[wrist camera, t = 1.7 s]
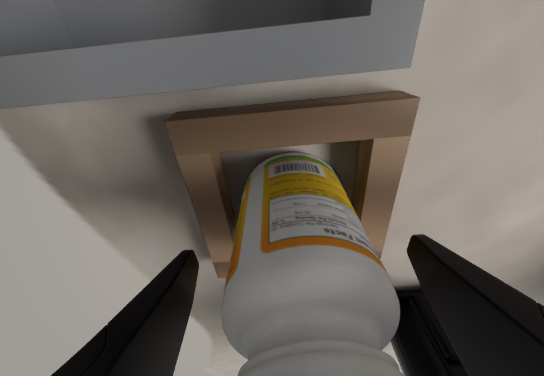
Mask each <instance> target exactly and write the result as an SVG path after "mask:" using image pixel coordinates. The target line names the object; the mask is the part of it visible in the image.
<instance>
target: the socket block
mask: <svg viewBox="0 0 544 376" xmlns="http://www.w3.org/2000/svg"><path fill="white" fill-rule="evenodd" d="M419 101H420V97H417V96H414V95H411V94H408V93H406V92H403V91H394V92H384V93H374V94H363V95H353V96H342V97H332V98H321V99H311V100H300V101H290V102H280V103H269V104H259V105H248V106H238V107H227V108H217V109H207V110H196V111H186V112H177V113H175V114H174V115H173V116H171V117H170V118H168V119H167V120H166V121H164V124H165V127H166V130H167V133H168V135H169V138H170V141H171V144H172V147H173V150H174V153H175V156H176V158H177V161H178V164H179V167H180V170H181V173H182V176H183V178H184V181H185V184H186V187H187V190H188V193H189V196H190V199H191V201H192V204H193V207H194V210H195V213H196V216H197V219H198V221H199V224H200V227H201V230H202V233H203V236H204V239H205V242H206V244H207V247H208V250H209V253H210V256H211V259H212V262H213V264H214V267H215V270H216V273H217V276H218V278H227V275H228V269H229V264H230V259H231V254H232V249H233V244H234V239H235V234H236V228H237V226H236V222H235V217H234V213H233V209H232V204H231V200H230V196H229V192H228V187H227V183H226V179H225V174H224V170H223V166H222V162H221V157H220V153H219V152H229V151H241V150H252V149H264V148H275V147H287V146H298V145H310V144H321V143H333V142H344V141H356V140H360V146H359V154H358V162H357V170H356V178H355V186H354V194H353V202H352V206H353V208H354V210H355V212H356V214H357V216H358V218H359V220H360V222H361V224H362V226H363V228H364V230H365V232H366V234H367V236H368V238H369V240H370V241H371V243H372V245H373V247H374V249H375V251H376V253H377V255H378V257H379V259H380V258H381V254H382V250H383V246H384V241H385V237H386V233H387V229H388V225H389V221H390V217H391V213H392V209H393V205H394V201H395V197H396V193H397V189H398V185H399V181H400V177H401V173H402V169H403V165H404V161H405V157H406V153H407V149H408V145H409V141H410V137H411V133H412V129H413V125H414V121H415V117H416V113H417V109H418V105H419Z"/></svg>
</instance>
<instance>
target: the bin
mask: <svg viewBox="0 0 544 376" xmlns="http://www.w3.org/2000/svg"><path fill="white" fill-rule="evenodd" d="M424 1H425V0H0V109H3V108H13V107H23V106H33V105H43V104H53V103H63V102H73V101H83V100H93V99H103V98H113V97H123V96H133V95H143V94H153V93H163V92H173V91H183V90H193V89H203V88H213V87H223V86H233V85H243V84H253V83H263V82H273V81H283V80H293V79H303V78H313V77H322V76H332V75H342V74H352V73H362V72H372V71H382V70H392V69H402V68H410V67H411V63H412V58H413V53H414V49H415V44H416V39H417V34H418V30H419V25H420V20H421V16H422V11H423V6H424Z"/></svg>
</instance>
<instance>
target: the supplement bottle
mask: <svg viewBox="0 0 544 376" xmlns="http://www.w3.org/2000/svg"><path fill="white" fill-rule="evenodd" d="M399 320H400V305H399V300H398V297H397V294H396V291H395V289H394V287H393V285H392V283H391V280H390V278H389V276H388V274H387V272H386V270H385V268H384V266H383V264H382V262H381V260H380V259H379V257H378V255H377V253H376V251H375V249H374V247H373V245H372V243H371V241H370V240H369V238H368V236H367V234H366V232H365V230H364V228H363V226H362V224H361V222H360V220H359V218H358V216H357V214H356V212H355V210H354V208H353V206H352V204H351V203H350V201H349V199H348V197H347V195H346V192H345V191H344V189H343V187H342V185H341V183H340V181H339V179H338V177H337V176H336V174H335V172H334V171H333V169H332V168H331V167H330V166H329V165H328V164H326V163H325V162H324V161H322V160H321V159H319V158H317V157H314V156H312V155H308V154H304V153H295V152H294V153H284V154H279V155H276V156H273V157H271V158H268V159H267V160H265V161H263V162H262V163H260V164H259V165H258V166H257V167H256V168H255V169H254V170H253V171H252V173H251V174H250V175H249V177H248V179H247V181H246V184H245V187H244V191H243V195H242V200H241V206H240V212H239V217H238V223H237V228H236V234H235V239H234V244H233V249H232V254H231V259H230V264H229V269H228V275H227V279H226V284H225V290H224V298H223V305H222V323H223V328H224V332H225V334H226V336H227V338H228V340H229V342H230V343H231V345H232V346H233V347H234V348H235V349H236V351H238V352H239V353H240V354H241V355H242V356H244V357H245V358H246V359H248V361H247V362H246V363H245V364H244V365H243V366H242V367H241V369H240V371H239V373H238V376H404V375H403V374H402V373H401V372H400V370H399V367H398V365H397V363H396V361H395V360H394V359H393V358H392V357H391V356H390V355H388V354H387V353H385V352H383V351H382V349H383V348H385V347H386V346H387V345H388V343H389V342H390V341H391V339H392V338H393V336H394V335H395V333H396V330H397V328H398V325H399Z"/></svg>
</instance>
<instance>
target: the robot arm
mask: <svg viewBox="0 0 544 376" xmlns="http://www.w3.org/2000/svg"><path fill="white" fill-rule="evenodd" d="M407 254H408V257H409V259H410V261H411V264H412V266H413V269H414V271H415V273H416V276H417V278H418V281H419V283H420V285H421V288H422V290H423V291H408V292H396V294H397V297H398V300H399V305H400V320H399V325H398V328H397V330H396V333H395V335H394V336H393V338H392V339H391V344H392V346H393V349H394V351H395V354H396V356H397V359H398V361H399V364H400V366H401V369H402V371H403V374H404V376H544V306H543V305H541V304H540V303H536V301H534V300H533V299H531V298H529V297H528V296H526V295H524V294H523V293H521V292H519V291H518V290H516V289H514V288H513V287H511V286H509V285H508V284H506V283H504V282H503V281H501V280H499V279H498V278H496V277H494V276H493V275H491V274H489V273H488V272H486V271H484V270H483V269H481V268H479V267H478V266H476V265H474V264H472V263H471V262H469V261H467V260H466V259H464V258H462V257H461V256H459V255H457V254H456V253H454V252H452V251H451V250H449V249H447V248H446V247H444V246H442V245H441V244H439V243H437V242H436V241H434V240H432V239H431V238H429V237H427V236H426V235H423V234H419V235H412V236H411V239H410V242H409V245H408V248H407ZM198 269H199V263H198V260H197V257H196V255H195V252H194V251H193V250H183V251H182V252H181V253H180V254H179V255H178V256H177V257H176V258H175V259H173V260H172V261H171V262H170V263H169V264H168V265H167V266H166V267H165V268H164V269H163V270H162V271H161V272H160V273H159V274H158V275H157V276H156V277H155V278H154V279H153V280H152V281H151V282H150V283H149V284H148V285H147V286H146V287H145V288H144V289H143V290H142V291H141V292H140V293H139V294H138V295H136V296H135V297H134V298H133V299H132V300H131V301H130V302H129V303H128V304H127V305H126V306H125V307H124V308H123V309H122V310H121V311H120V312H119V313H118V314H117V315H116V316H115V317H114V318H113V319H112V320H111V321H110V322H109V323H108V325H106V326H105V327H104V328H103V329H102V330H101V331H100V332H98V333H97V334H96V335H95V336H94V337H93V338H92V339H91V340H90V341H89V342H88V343H87V344H86V345H85V346H84V347H83V348H81V350H79V351H78V352H77V353H76V354H75V355H74V356H73V357H71V358H70V359H69V360H68V361H67V362H66V363H65V364H64V365H62V366H61V367H60V368H59V369H58V370H57V371H56V372H55V373H53V374H52V375H51V376H173V373H174V370H175V366H176V362H177V359H178V355H179V352H180V348H181V344H182V341H183V337H184V333H185V330H186V326H187V322H188V319H189V316H190V312H191V308H192V304H193V299H194V293H195V287H196V281H197V275H198Z"/></svg>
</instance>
